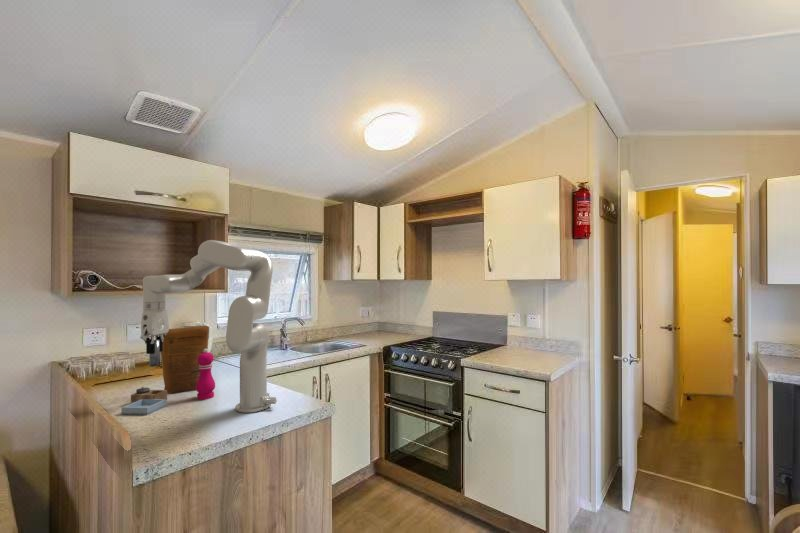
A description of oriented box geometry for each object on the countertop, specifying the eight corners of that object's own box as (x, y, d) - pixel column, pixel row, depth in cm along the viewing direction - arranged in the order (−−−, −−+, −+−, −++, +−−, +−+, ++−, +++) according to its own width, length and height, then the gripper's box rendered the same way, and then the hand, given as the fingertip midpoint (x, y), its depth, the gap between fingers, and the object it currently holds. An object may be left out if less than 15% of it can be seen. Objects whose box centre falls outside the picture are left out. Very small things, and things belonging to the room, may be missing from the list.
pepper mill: (219, 395, 163) (219, 347, 164) (206, 400, 156) (206, 350, 157) (204, 394, 165) (204, 346, 166) (191, 399, 158) (191, 349, 159)
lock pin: (162, 364, 157) (162, 339, 157) (155, 366, 153) (155, 341, 153) (153, 364, 157) (153, 339, 157) (147, 366, 154) (147, 341, 154)
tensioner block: (167, 399, 158) (167, 385, 158) (154, 405, 151) (154, 389, 151) (144, 399, 159) (144, 384, 159) (130, 405, 152) (130, 389, 152)
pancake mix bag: (210, 389, 173) (210, 325, 174) (159, 396, 163) (159, 329, 164) (209, 385, 179) (209, 324, 179) (160, 392, 169) (160, 327, 170)
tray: (166, 405, 151) (166, 399, 151) (147, 414, 141) (147, 407, 141) (142, 405, 152) (142, 398, 152) (121, 414, 142) (121, 407, 142)
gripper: (147, 308, 147) (148, 356, 147) (177, 304, 164) (177, 348, 163) (129, 308, 148) (129, 357, 147) (160, 305, 164) (160, 349, 164)
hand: (154, 352), depth 155 cm, fingers closed on lock pin, 3 cm apart
